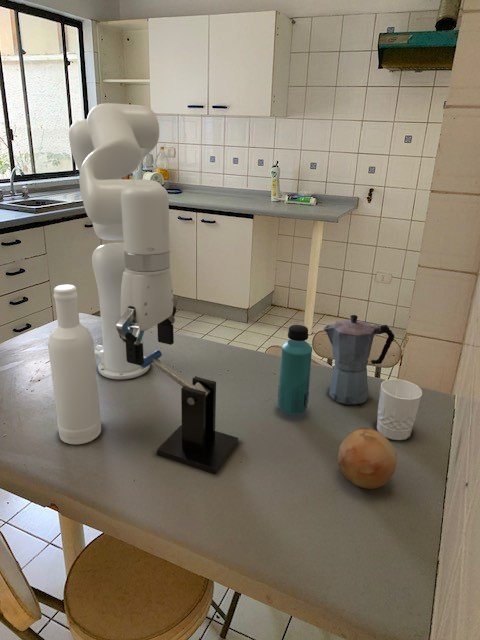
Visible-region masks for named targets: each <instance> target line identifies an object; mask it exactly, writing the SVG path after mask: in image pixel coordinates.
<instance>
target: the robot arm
mask: <svg viewBox="0 0 480 640" xmlns="http://www.w3.org/2000/svg"><path fill="white" fill-rule="evenodd" d="M157 117H158V116H157V115H156V113H155V112H154V111H153V109H152V108H150V107H148V106H147V105H144V104H143V105H142V104H128V103H113V102H106V103H99V104H97V105H95V106H94V107H92V108H91V109H90V111H89V112H88V114H87V118H85V119H79V120H77V121H76V120H75V122H73V123H72V124H71V125H70V127H69V130H68V141H69V142H68V143H69V148H70V151H71V156H72V158H73V161H74V163H75V165H76V168H77V170H78V171H79V175H78V176H79V177H78V179H79V190H80V191H79V192H80V195H81V199H82V204H83V207H84V210H85V211H84V212H85V213H86V215H87V217H88V219H89V220H90V221H91V223H92V227H93V230H94V231H93V232H94V234H95V235H96V237H97V238H99V239H101V240H105V241H123V242H110V243H105V244H101V245H99V246H98V247H96V248H95V249H94V250H93V252H92V255H91V265H92V266H91V267H92V270H93V274H94V278H95V279H94V280H95V282H96V287H97V292H98V293H97V294H98V301H99V315H100V326H101V327H100V328H101V337H102V344H101V345H100V344H96V345H95V346H94V352H95V357H98V358H100V362H99V363H98V365H97V369H98V374H100V375H101V376H103V377H104V378H106V379H107V378H108V379H111V380H129V379H135V378H137V377H141V376H142V375H144V374H146V373H147V372H148V371H149V369H151V368H150V367H151V364H150V365H149V366H147V367H146V368H143V367H141V365H143V364H144V359H145V358H146V357H147V356H145V354H144V344H143V343H144V341H143V340H144V339H143V336H144V333H145V331H148V330H151V329H152V328H154V327H155V326H157V327H156V328H157V342H158V343H161V344H165V345H170V346H172V345H173V344H175V343H174V342H175V341H174V340H175V338H174V334H175V333H174V324H175V322H176V319H175V316H176V313H177V306H178V301H179V297H178V296H177V295H175V294H174V289H173V281H172V280H173V279H172V273H171V255H170V254H171V245H170V243H171V242H170V241H171V240H170V207H169V206H170V205H169V201H170V200H169V193H168V191H167V189H166V188H165V187H164V186H163V185H162V184H161V183H160V182H159V181H157V180H154V179H129V178H128V179H127V178H126V179H124V178H125V177H127V176H129V175H130V174H132V173H133V172H135V171H136V170H137V169H138V167H139V166H140V163H141V160H142V159H144V158H145V157H147V156H148V155H149V154H150V153H151V152H152V151H153V150H154V149H155V148H156V146H157V145H158V143H159V139H160V123H159V120H158V118H157ZM122 178H123V179H122Z"/></svg>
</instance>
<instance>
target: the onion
mask: <svg viewBox="0 0 480 640" xmlns="http://www.w3.org/2000/svg"><path fill="white" fill-rule="evenodd" d="M397 463H398V457H397V452H396V450H395V448H394V446H393V445H392V443H391V442H390V440H389V438H387V437H385V436H384V435H382V434H381V433H379V432H378V430H377V429H376V430H375V429H372V428H370V427H364V426H363V427H359V428H356V429H354V430H353V431H351V432H350V433H348V434H347V436H345V438H344V439H343V440H342V442H341V443H340V445H339V448H338V456H337V465H338V467H339V470H340V471H341V473H342V474H343V475H344V477H345V478H346V479H347V480H348V481H349V482H350V483H352V484H353V485H355V486H357V487H359V488H363V489H367V490H375V489H378V488H381V487H382V486H383V485H385V484H387V482H389V480H391V479H392V477H394V475H395V472H396V468H397Z"/></svg>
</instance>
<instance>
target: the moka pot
mask: <svg viewBox="0 0 480 640" xmlns="http://www.w3.org/2000/svg"><path fill="white" fill-rule="evenodd" d="M349 317H350V319H346V320H345V319H344V320H336V321H335V322H334V323H329V324H327V325H326V326H324V327H323V328H322V330H323V331H325V333H326V335H327V338H328V340H329V342H330V344H331V347H332V357H333V358H334V365H333V366H332V370H333V372H332V376H331V381H330V387H329V391H328V394H329V396H330V398H331V399H333V401H335V402H337V403H340V404H344V405H360V404H363V403H365V402H366V401H367V400H368V397H369V384H368V383H369V382H368V368H367V367H368V363H369V358H370V354H371V351H372V346H373V342H374V337H375V335H382V334H386V335H387V338H386V340H385V344H384V345H383V348H382V350H381V353H380V355H379V357H378V358H377V359H371V360H370V363H371V364H372V365H381V364H382V363H383V361H384V360H385V357H386V355H387V354H388V351H389V349H390V347H391V345H392V343H393V342H394V340H395V334H394V333H393V331H392V330H391V329H390V326H389V327H388V324H383V325H377V324H373V325H372V324H370V323H369V322H367V321H361V320H358V315H356V314H351V315H350V316H349Z"/></svg>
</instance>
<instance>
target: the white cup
mask: <svg viewBox="0 0 480 640" xmlns="http://www.w3.org/2000/svg"><path fill="white" fill-rule="evenodd" d="M422 396H423V390H422V388H420V386H419V385H417V384H416V383H413V382H411V381H408V380H405V379H401V378H400V379H399V378H389V379H385V380H383V381H382V382H381V383H380V388H379V396H378V397H379V398H378V406H377V416H376V417H377V421H376V431H378V432H379V433H381V434H382V435H384V436H385V437H386V438H387V439H388V440H389V439H390V440H392V441H404V440H407V439H409V438H410V437H411V434H412V430H413V427H414V424H415V422H416V418H417V415H418V411H419V408H420V403H421V400H422Z"/></svg>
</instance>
